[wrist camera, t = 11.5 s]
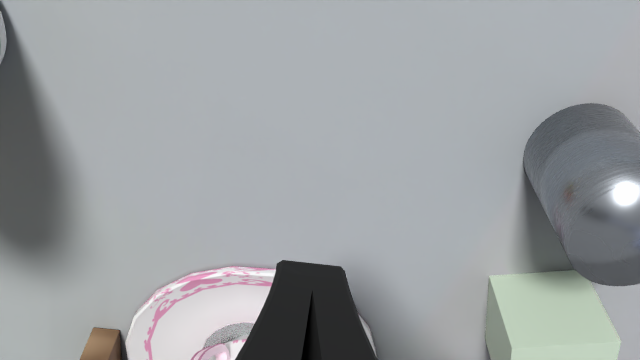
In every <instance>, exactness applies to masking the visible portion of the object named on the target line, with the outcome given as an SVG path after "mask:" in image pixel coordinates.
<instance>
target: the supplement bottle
mask: <svg viewBox="0 0 640 360" xmlns="http://www.w3.org/2000/svg"><path fill="white" fill-rule="evenodd" d="M6 43H7V39H6V30H5V24H4V20H3V17H2V13H1V11H0V64H1V62H2V60H3V57H4V54H5V50H6Z"/></svg>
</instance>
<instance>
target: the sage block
mask: <svg viewBox="0 0 640 360" xmlns="http://www.w3.org/2000/svg"><path fill="white" fill-rule="evenodd" d="M485 340H486V344H487V348H488V351H489V355H490V358H491V360H617V357H618V353H619V349H620V345H621V340H620V338H619V336H618V334H617V332H616V330H615V328H614V326H613V324H612V322H611V321H610V319H609V317H608V315H607V313H606V311H605V309H604V307H603V305H602V303H601V301H600V299H599V297H598V295H597V293H596V291H595V289H594V287H593V286H592V284H591V282H590V280H588V279H586V278H584V277H583V276H581V275H580V274H579V273H578V272H577V271H576V270H567V271H552V272H538V273H524V274H510V275H496V276H489V285H488V301H487V316H486V331H485Z"/></svg>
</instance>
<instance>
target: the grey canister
mask: <svg viewBox="0 0 640 360" xmlns="http://www.w3.org/2000/svg"><path fill="white" fill-rule="evenodd" d="M523 164H524V169H525V172H526V174H527V176H528V178H529V180H530V182H531V184H532V186H533V188H534V190H535V192H536V194H537V196H538V198H539V200H540V202H541V204H542V206H543V208H544V210H545V212H546V214H547V216H548V218H549V220H550V222H551V224H552V226H553V228H554V230H555V232H556V234H557V236H558V238H559V240H560V242H561V244H562V246H563V248H564V250H565V252H566V254H567V256H568V258H569V260H570V262H571V264H572V266H573V268H574V269H575V270H576V271H577V272H578V273H579V274H580V275H581V276H583V277H584V278H586V279H588V280H590V281H592V282H595V283H598V284H602V285H608V286H628V285H635V284H640V132H639V131H638V130H637V129H636V128H635V126H634V125H633V124H632V123H631V122H630V121H629V120H628V118H627V117H626V116H625V115H624V114H623V113H621V112H620V111H619V110H617V109H615V108H613V107H610V106H607V105H602V104H593V103H590V104H580V105H575V106H572V107H568V108H566V109H563V110H561V111H559V112H557V113H555V114H553V115H552V116H550V117H549V118H547V119H546V120H545V121H544V122H542V123H541V124H540V125H539V126H538V127H537V129H536V130H535V131H534V132H533V134H532V135H531V137H530V138H529V140H528V142H527V145H526V147H525V151H524V157H523Z"/></svg>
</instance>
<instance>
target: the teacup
mask: <svg viewBox="0 0 640 360" xmlns="http://www.w3.org/2000/svg"><path fill="white" fill-rule="evenodd" d="M275 272H276V269H266V268H251V267H236V266H231V267H225V268H219V269H214V270H208V271H202V272H197V273H191V274H189V275H187V276H185V277H183V278H181V279H179V280H176V281H174V282H172V283H170V284H168V285H166V286H164V287H162V288H160V289H158V290H157V291H156V292H155V293H154V294H153V295H152V296H151V297H150V298H149V299H148V300H147V301H146V302H145V303H144V304H143V305H142V306H141V307H140V308H139V309H138V310H137V311H136V313H135V315H134V318H133V321H132V324H131V327H130V330H129V333H128V336H127V339H126V342H125V344H126V350H127V357H128V360H235V358H236V357H237V355H238V353H239V352H240V350H241V348H242V347H243V345H244V343H245V341H246V340H247V338H248V336H249V334H246V335H242V336H239V337H236V338H234V339H233V340H231V341H230V342H227V343H224V344H222V343H218V344H216V345H214V346H208V347H206V348H204V346H205V344H206V342H207V339H208V338H209V337H210V336H211V335H212V334H214V333H215V332H216V331H217V330H219V329H221V328H224V327H226V326H228V325H231V324H238V323H244V322H248V323H255V322H256V320H257V318H258V316H259V314H260V312H261V310H262V308H263V306H264V303H265V301H266V298H267V296H268V294H269V291H270V288H271V286H272V283H273V279H274V276H275ZM358 315H359V314H358ZM359 318H360V320H361V323H362V325H363V328H364V330H365V332H366V335H367V337H368V339H369V341H370V344H371V346H372V348H373V350H374V353H375V355H376V357H377V353H376V349H375V346H374V342H373V339H372V335H371V332H370V328H369V326H368V325H367V324H366V323H365V321H364V320H363V319H362V318H361V316H360V315H359Z"/></svg>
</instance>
